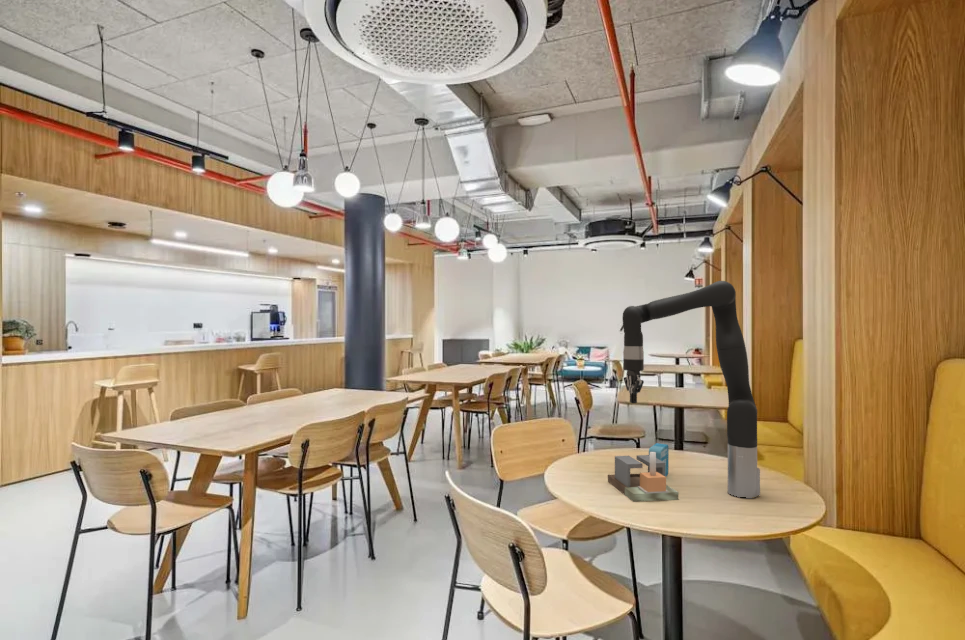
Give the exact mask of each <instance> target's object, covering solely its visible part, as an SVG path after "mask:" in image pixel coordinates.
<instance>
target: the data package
mask: <svg viewBox="0 0 965 640" xmlns="http://www.w3.org/2000/svg"><path fill="white" fill-rule="evenodd" d="M669 451H670V450H669V444H666V443H654V444H653V445H652V446H650V447H649V449H648V455H650V452H656V458H657V459H659V460H661V461H663V462H665V477H666V478H667V476H668V474H669Z"/></svg>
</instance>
